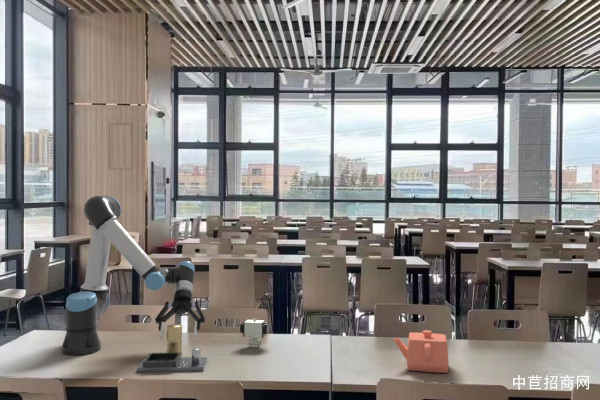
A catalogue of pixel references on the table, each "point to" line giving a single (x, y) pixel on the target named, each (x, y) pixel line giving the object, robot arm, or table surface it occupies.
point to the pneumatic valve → (254, 331)
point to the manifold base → (172, 362)
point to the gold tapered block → (174, 338)
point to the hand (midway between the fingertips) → (178, 337)
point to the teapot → (425, 352)
